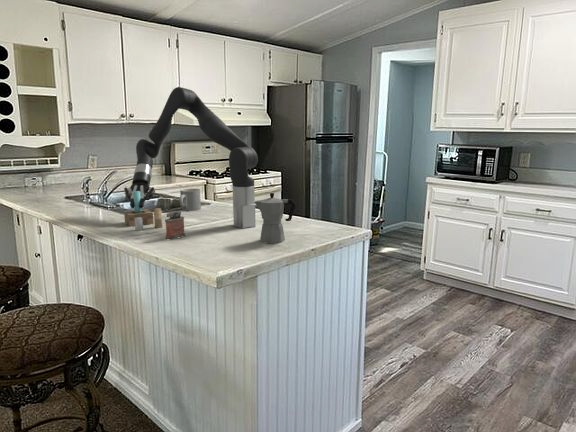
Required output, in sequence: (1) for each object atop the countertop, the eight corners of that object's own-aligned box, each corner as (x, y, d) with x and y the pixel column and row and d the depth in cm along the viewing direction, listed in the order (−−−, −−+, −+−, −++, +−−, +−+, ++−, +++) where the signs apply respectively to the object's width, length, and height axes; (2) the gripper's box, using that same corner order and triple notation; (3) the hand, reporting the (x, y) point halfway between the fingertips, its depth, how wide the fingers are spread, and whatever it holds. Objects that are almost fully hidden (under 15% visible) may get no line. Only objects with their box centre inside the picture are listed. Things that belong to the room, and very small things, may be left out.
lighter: (181, 234, 170) (180, 209, 168) (187, 235, 168) (185, 210, 166) (164, 238, 164) (162, 213, 162) (169, 240, 162) (167, 214, 160)
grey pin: (143, 230, 178) (143, 218, 177) (136, 231, 176) (135, 219, 175) (142, 228, 180) (141, 217, 179) (134, 229, 179) (133, 217, 178)
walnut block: (153, 223, 189) (152, 212, 188) (129, 226, 184) (128, 215, 183) (147, 219, 197) (146, 209, 196) (124, 222, 192) (123, 211, 191)
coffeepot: (253, 243, 157) (252, 195, 153) (255, 237, 166) (255, 190, 162) (296, 243, 156) (296, 194, 153) (295, 237, 166) (295, 190, 162)
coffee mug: (191, 206, 229) (190, 187, 227) (205, 208, 223) (204, 189, 221) (171, 210, 218) (170, 191, 216) (185, 212, 212) (184, 192, 210)
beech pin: (163, 227, 182) (161, 209, 180) (156, 228, 180) (154, 209, 179) (161, 226, 184) (159, 207, 183) (154, 227, 183) (152, 208, 181)
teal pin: (143, 218, 190) (141, 191, 187) (136, 219, 188) (133, 192, 186) (141, 217, 192) (139, 190, 190) (134, 218, 191) (132, 191, 188)
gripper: (124, 171, 193) (117, 202, 184) (156, 170, 194) (150, 202, 184) (129, 181, 199) (122, 212, 190) (159, 180, 200) (154, 212, 190)
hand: (136, 207), depth 187 cm, fingers closed on teal pin, 3 cm apart
